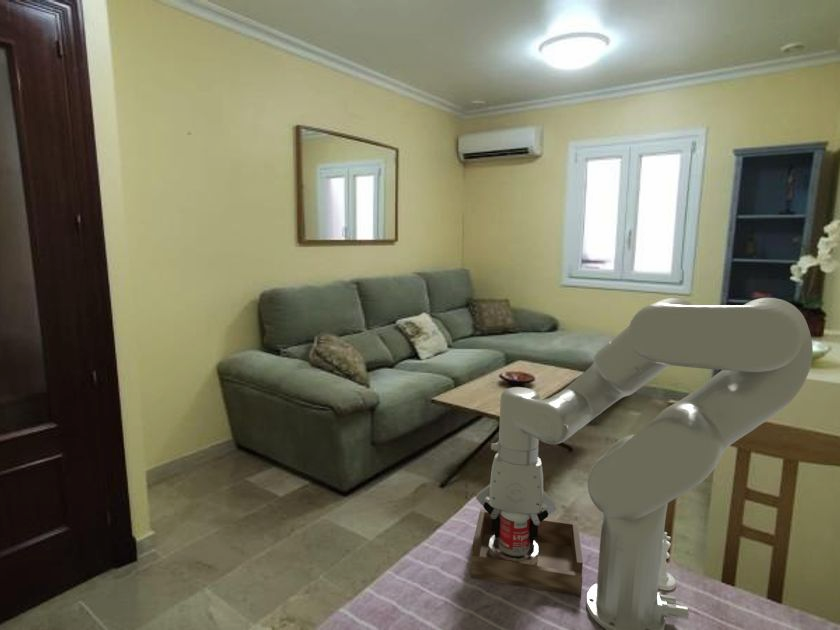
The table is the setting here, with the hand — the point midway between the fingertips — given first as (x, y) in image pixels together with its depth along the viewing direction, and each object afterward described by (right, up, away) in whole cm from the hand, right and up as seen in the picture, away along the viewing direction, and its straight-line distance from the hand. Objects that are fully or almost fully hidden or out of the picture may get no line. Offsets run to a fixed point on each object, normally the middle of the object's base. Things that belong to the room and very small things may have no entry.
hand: (514, 535), depth 97 cm
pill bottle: (0, -3, +1) cm, 3 cm away
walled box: (+2, -5, 0) cm, 6 cm away
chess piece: (+27, -6, -5) cm, 28 cm away
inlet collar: (0, -5, +1) cm, 5 cm away
